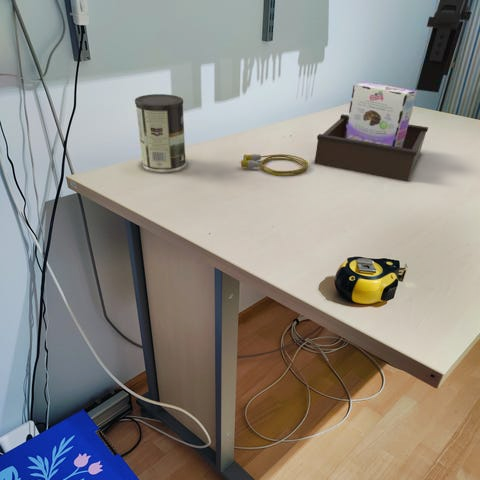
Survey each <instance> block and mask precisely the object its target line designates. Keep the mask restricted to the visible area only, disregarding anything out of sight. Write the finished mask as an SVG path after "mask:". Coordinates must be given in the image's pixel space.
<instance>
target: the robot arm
mask: <svg viewBox="0 0 480 480" xmlns="http://www.w3.org/2000/svg"><path fill="white" fill-rule="evenodd" d="M470 1H471V0H439V1H438V5H437V8H436V11H435V12H434V15H433V16H429V17H428V20H427V24H426V27H427V28H431V32H430V35H429V41H428V44H427V47H426V51H425V54H424V58H423V62H422V65H421V68H420V73H419V76H418V81H417V84H416V88H415V91H422V92H431V93H439V92H440V89H441V85H442V83H443V79H444V76H448V75H449V71H450V68H451V64H452V61H453V58H454V55H455V51H456V49H457V45H458V42H459V38H460V35H461V32H462V29H463V26H464V21H465V22H469V21H470V19H471V15H472V11H468V10H469V7H470V6H469V4H470Z"/></svg>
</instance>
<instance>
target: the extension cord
mask: <svg viewBox="0 0 480 480" xmlns="http://www.w3.org/2000/svg"><path fill="white" fill-rule="evenodd" d="M242 157H243V159H242V160H241V161H240V162H241V164H240V167H241V168H247V169H255V168H256V169H257V168H260V169H261V170H262V171H264V172H266V173H268V174H270V175H274V176H280V177H281V176H282V177H283V176H284V177H285V176H286V177H287V176H295V175H298V174H301V173H303V172H305V170H306V169H307V168H308V167H309V162H308V161H307V160H306V159H304V158H303V157H300V156H297V155H292V154H269V155H261V154H256V153H251V154H244V155H243V156H242ZM262 158H264V159H263V160H261V159H262ZM260 160H261V162H260ZM272 160H287V161H292V162H295V163H298V164H300V165H301V166H302V167H301V168H298V169H293V170H292V169H291V170H276V169H272V168H270V167H267V166H266V165H263V164H264V163H266V162H268V161H272Z"/></svg>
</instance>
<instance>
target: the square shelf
mask: <svg viewBox="0 0 480 480" xmlns="http://www.w3.org/2000/svg"><path fill="white" fill-rule="evenodd" d="M347 120H348V114H343V113H341V115H340V117H339V119H338V120H337V121H336V122H335V123H333V124H332V125H331V126H330V127H328V129H327V130H326V131H325V132H324V133H319V134H318V135H317V136H316V139H317V143H316V151H315V157H314V164H316V165H320V166H321V165H322V166H326V167H331V168H336V169H341V170H347V171H352V172H358V173H362V174H367V175H373V176H377V177H378V176H379V177H384V178H388V179H394V180H399V181H405V182H408V181H409V179H410V176H411V174H412V172H413V170H414V168H415V165H416V163H417V161H418V158H419V156H420V154H421V151H422V147H423V144H424V141H425V139H426V134H427V133H428V131H429V127H428V126H423V125H415V124H410V123H409V124H408V128H407V132H406V135H405V139H404V143H403V146H402V148H400V147H394V146H388V145H382V144H376V143H370V142H364V141H359V140H353V139H347V138H345V132H346V126H347Z"/></svg>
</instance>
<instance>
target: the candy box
mask: <svg viewBox="0 0 480 480" xmlns="http://www.w3.org/2000/svg"><path fill="white" fill-rule="evenodd" d="M417 94H418V90H413V89H407V88H402V87H397V86H393V85H392V86H391V85H386V84H381V83H375V82H370V81H362V82H358V83H354V84H353V86H352V94H351V99H350V104H349V110H348V114H347V115H348V120H347V126H346V132H345V138H347V139H353V140H359V141H364V142H370V143H376V144H382V145H388V146H394V147H400V148H402V146H403V143H404V139H405V135H406V132H407V128H408V124H410V120H411V118H412V117H411V116H412V112H413V109H414V105H415V101H416V98H417Z"/></svg>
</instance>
